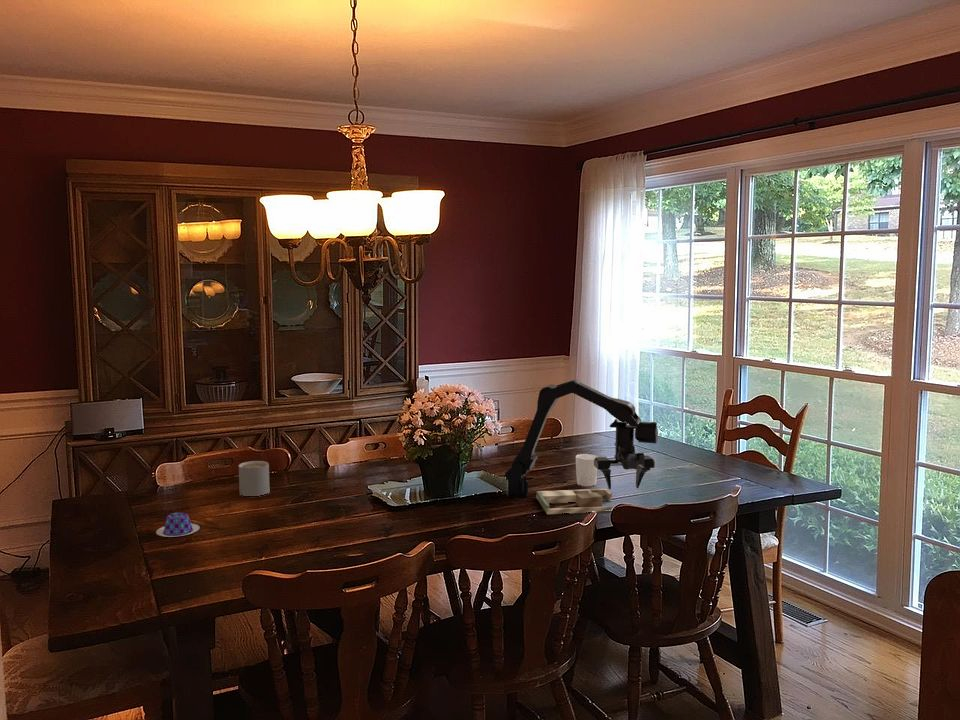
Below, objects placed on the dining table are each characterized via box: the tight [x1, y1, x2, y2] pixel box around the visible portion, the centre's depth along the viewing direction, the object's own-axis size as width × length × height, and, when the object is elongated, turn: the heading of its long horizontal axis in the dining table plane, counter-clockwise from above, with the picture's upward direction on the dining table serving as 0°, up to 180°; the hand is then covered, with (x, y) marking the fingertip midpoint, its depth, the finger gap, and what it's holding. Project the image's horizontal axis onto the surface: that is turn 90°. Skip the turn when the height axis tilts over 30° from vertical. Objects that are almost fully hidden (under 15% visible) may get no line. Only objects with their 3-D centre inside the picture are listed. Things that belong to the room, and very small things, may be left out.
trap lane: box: [536, 488, 615, 515], centre depth 258 cm, size 24×17×2 cm
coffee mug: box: [238, 460, 271, 497], centre depth 274 cm, size 13×10×10 cm
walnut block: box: [575, 493, 603, 508], centre depth 256 cm, size 7×5×4 cm
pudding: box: [155, 512, 200, 538], centre depth 234 cm, size 12×12×5 cm
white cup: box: [575, 453, 599, 487], centre depth 282 cm, size 8×8×10 cm
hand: (623, 488), depth 257 cm, fingers open, 9 cm apart
